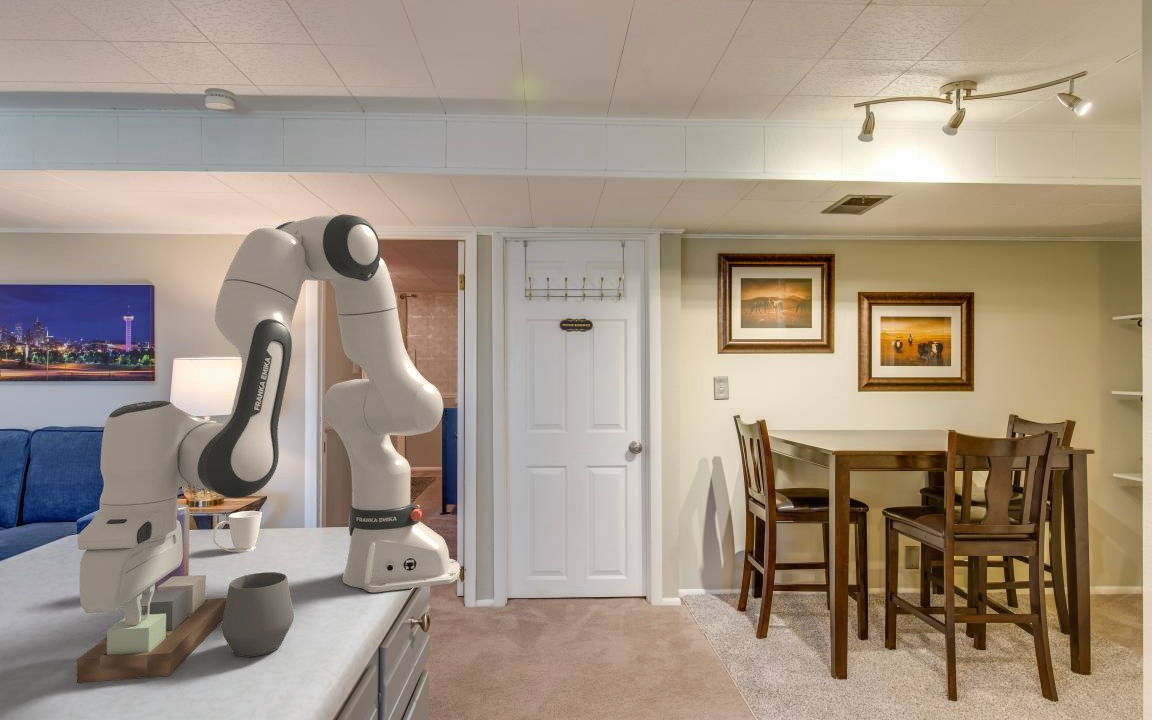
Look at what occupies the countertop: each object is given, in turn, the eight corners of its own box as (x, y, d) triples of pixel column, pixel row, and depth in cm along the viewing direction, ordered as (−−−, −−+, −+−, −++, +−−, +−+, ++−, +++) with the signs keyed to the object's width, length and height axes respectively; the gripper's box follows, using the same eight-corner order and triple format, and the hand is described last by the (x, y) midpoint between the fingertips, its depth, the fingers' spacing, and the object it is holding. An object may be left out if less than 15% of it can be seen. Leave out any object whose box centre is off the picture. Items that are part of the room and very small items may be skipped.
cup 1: (265, 550, 143) (266, 514, 144) (215, 558, 137) (216, 521, 137) (257, 543, 149) (258, 509, 149) (209, 551, 142) (209, 515, 142)
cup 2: (217, 668, 87) (218, 594, 87) (224, 641, 95) (225, 574, 95) (293, 656, 90) (294, 585, 90) (293, 631, 99) (294, 567, 99)
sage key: (165, 644, 90) (166, 613, 90) (148, 660, 85) (148, 627, 85) (126, 647, 89) (127, 615, 89) (106, 663, 84) (107, 630, 84)
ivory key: (205, 602, 104) (205, 575, 104) (192, 613, 99) (192, 585, 99) (171, 603, 103) (172, 576, 103) (157, 615, 98) (157, 586, 98)
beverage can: (170, 594, 115) (171, 511, 115) (142, 591, 116) (143, 509, 116) (196, 583, 121) (197, 504, 121) (169, 581, 122) (170, 503, 122)
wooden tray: (227, 615, 105) (227, 597, 105) (169, 675, 84) (169, 653, 84) (153, 620, 103) (154, 601, 103) (76, 682, 82) (76, 659, 82)
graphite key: (186, 618, 97) (187, 589, 97) (172, 631, 92) (172, 601, 92) (150, 620, 96) (151, 591, 96) (133, 634, 91) (134, 603, 91)
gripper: (150, 505, 97) (148, 596, 97) (68, 540, 77) (66, 655, 76) (195, 503, 98) (193, 594, 98) (126, 537, 78) (124, 651, 78)
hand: (137, 621), depth 87 cm, fingers closed, pressing on sage key
